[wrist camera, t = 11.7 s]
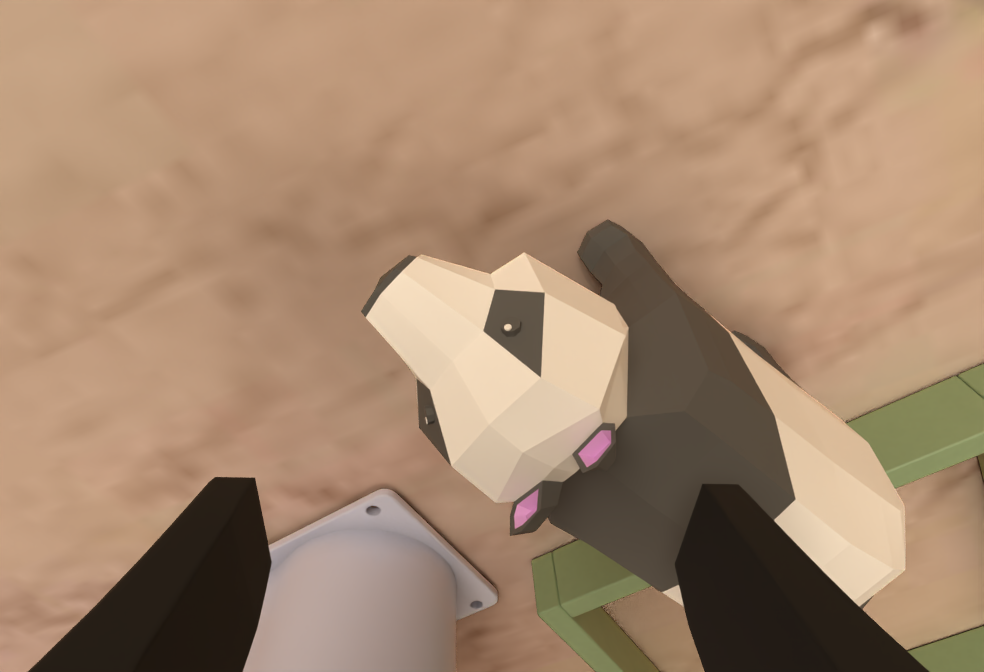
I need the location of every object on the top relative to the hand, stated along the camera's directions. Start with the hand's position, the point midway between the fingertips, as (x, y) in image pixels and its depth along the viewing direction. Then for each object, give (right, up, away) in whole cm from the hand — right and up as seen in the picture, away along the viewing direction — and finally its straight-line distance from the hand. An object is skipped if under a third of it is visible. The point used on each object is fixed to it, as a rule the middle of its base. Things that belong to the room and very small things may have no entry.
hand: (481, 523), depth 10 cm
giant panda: (+4, +4, +9) cm, 11 cm away
